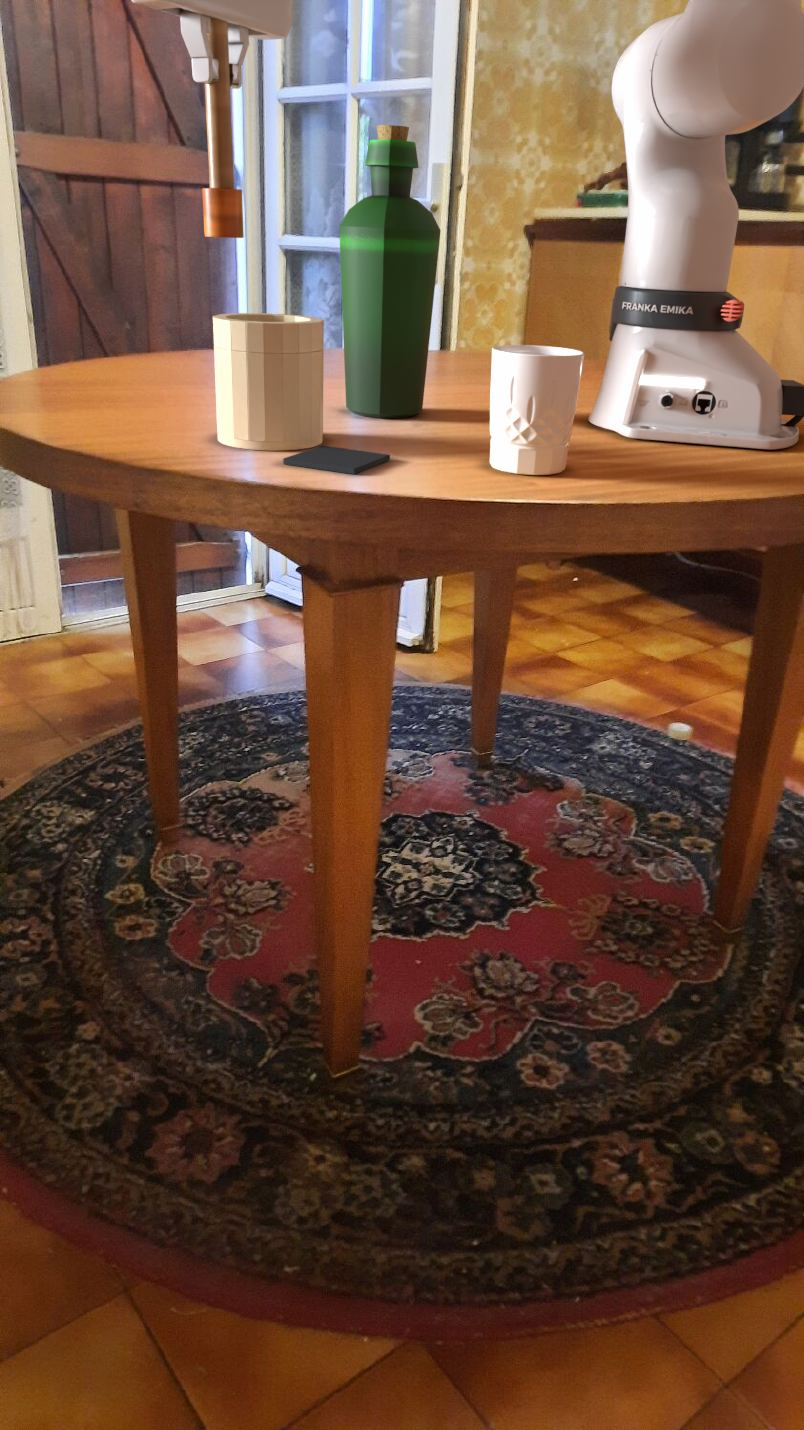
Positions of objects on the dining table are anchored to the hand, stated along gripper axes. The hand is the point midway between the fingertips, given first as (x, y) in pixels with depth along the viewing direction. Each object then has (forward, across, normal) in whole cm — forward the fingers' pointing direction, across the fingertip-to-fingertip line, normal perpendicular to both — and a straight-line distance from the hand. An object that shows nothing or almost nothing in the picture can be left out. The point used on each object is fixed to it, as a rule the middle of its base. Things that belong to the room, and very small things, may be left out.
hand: (218, 85), depth 90 cm
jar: (+30, -3, -6) cm, 30 cm away
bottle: (+30, +18, -8) cm, 36 cm away
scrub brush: (+12, 0, 0) cm, 12 cm away
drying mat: (+30, -8, -16) cm, 35 cm away
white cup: (+30, 0, -31) cm, 43 cm away
